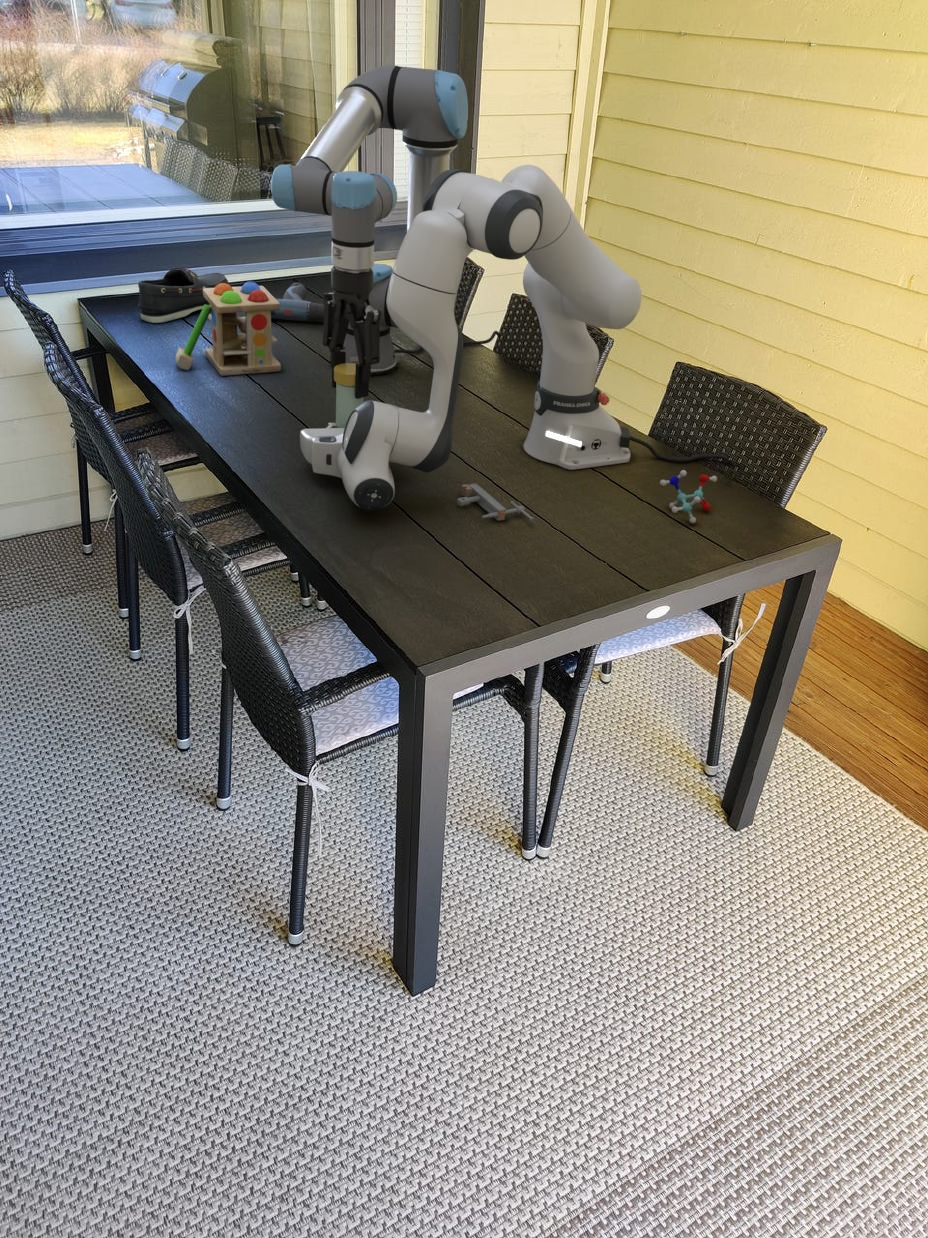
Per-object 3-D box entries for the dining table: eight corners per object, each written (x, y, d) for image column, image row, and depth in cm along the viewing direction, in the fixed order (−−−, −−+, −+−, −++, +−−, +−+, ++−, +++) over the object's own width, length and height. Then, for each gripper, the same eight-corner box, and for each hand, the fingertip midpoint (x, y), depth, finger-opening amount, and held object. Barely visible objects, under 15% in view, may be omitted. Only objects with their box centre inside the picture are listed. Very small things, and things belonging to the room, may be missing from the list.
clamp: (448, 487, 182) (493, 478, 187) (447, 497, 184) (492, 489, 188) (489, 523, 172) (536, 514, 177) (488, 534, 173) (535, 524, 178)
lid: (331, 384, 184) (331, 372, 182) (336, 372, 189) (336, 361, 188) (364, 387, 184) (364, 376, 183) (368, 375, 189) (368, 364, 188)
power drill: (344, 304, 276) (335, 327, 259) (277, 298, 275) (264, 321, 258) (344, 285, 273) (335, 306, 256) (277, 279, 272) (264, 300, 255)
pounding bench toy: (183, 379, 220) (176, 299, 210) (169, 357, 231) (162, 280, 221) (282, 371, 230) (280, 294, 220) (264, 350, 240) (262, 276, 230)
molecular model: (721, 517, 179) (705, 464, 177) (670, 531, 182) (655, 480, 181) (726, 508, 189) (711, 458, 188) (678, 522, 193) (663, 473, 191)
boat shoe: (248, 301, 272) (246, 262, 267) (158, 325, 248) (153, 283, 243) (214, 293, 278) (211, 255, 272) (123, 315, 254) (117, 274, 248)
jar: (346, 448, 198) (348, 365, 188) (367, 456, 196) (369, 372, 186) (330, 456, 194) (330, 371, 185) (350, 464, 192) (352, 379, 182)
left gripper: (302, 257, 177) (303, 379, 190) (372, 283, 167) (368, 411, 180) (334, 252, 182) (333, 372, 195) (404, 277, 172) (398, 402, 185)
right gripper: (415, 438, 182) (401, 409, 193) (304, 441, 177) (296, 411, 188) (413, 469, 186) (399, 439, 197) (305, 473, 181) (297, 441, 192)
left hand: (350, 390), depth 188 cm, fingers closed on lid, 6 cm apart
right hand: (348, 425), depth 192 cm, fingers closed on jar, 5 cm apart
